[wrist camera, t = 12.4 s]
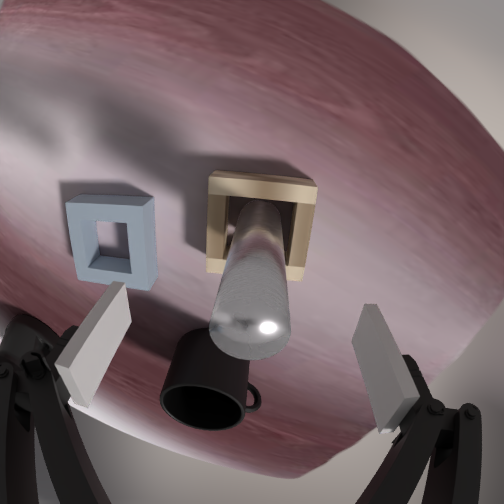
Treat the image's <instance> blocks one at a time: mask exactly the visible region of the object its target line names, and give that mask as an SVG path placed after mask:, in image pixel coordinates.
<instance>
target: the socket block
mask: <svg viewBox="0 0 504 504" xmlns="http://www.w3.org/2000/svg"><path fill="white" fill-rule="evenodd" d="M65 204H66V212H67V220H68V227H69V233H70V240H71V246H72V251H73V257H74V262H75V267H76V272H77V276H78V280H83V281H89V282H95V283H101V284H107V285H110V284H111V283H112V282H113V281H117V282H125V285H126V288H133V289H139V290H146V291H149V290H150V289H151V287H152V285H153V284H154V282H155V280H156V279H157V277H158V269H157V255H156V237H155V214H154V197H144V196H122V195H95V194H80V195H78V196H76V197H74V198H73V199H71V200H69V201H67V202H65ZM96 221H105V222H119V223H127V232H128V243H129V253H130V259H125V258H117V257H109V256H101V255H100V251H99V244H98V236H97V228H96Z"/></svg>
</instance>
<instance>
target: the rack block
mask: <svg viewBox="0 0 504 504" xmlns="http://www.w3.org/2000/svg"><path fill="white" fill-rule="evenodd" d="M317 190H318V187H317V185H316V184H315V182H314V181H313V180H311V179H303V178H295V177H286V176H277V175H268V174H257V173H246V172H234V171H221V170H215V171H214V172H213V173H212V174H211V175H210V176H209V183H208V209H207V246H206V272H210V273H220V274H223V271H224V268H225V264H226V261H227V257H228V253H229V250H230V246H227V231H228V214H229V197H230V196H238V197H249V198H260V199H270V200H280V201H289V202H294V204H293V211H292V218H291V226H290V233H289V240H288V247H287V252H286V251H284V256H285V267H286V278H287V280H291V281H302V279H303V273H304V268H305V263H306V257H307V251H308V246H309V240H310V234H311V228H312V222H313V216H314V210H315V204H316V197H317Z"/></svg>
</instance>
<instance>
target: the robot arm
mask: <svg viewBox="0 0 504 504" xmlns="http://www.w3.org/2000/svg"><path fill="white" fill-rule="evenodd" d="M131 322H132V321H131V315H130V310H129V304H128V298H127V291H126V285H125V282H117V281H113V282H112V283H111V284H110V286H109V287H108V288H107V290H106V291H105V292H104V294H103V295H102V296H101V298H100V299H99V300H98V302H97V303H96V304H95V306H94V307H93V308H92V310H91V311H90V312H89V314H88V315H87V317H86V318H85V319H84V321H83V322H82V324H81V325H80V326H79V327H78V326H74V325H73V326H71V327H70V328H68V329H67V330H66V331H65V332H64V333H63V335H62V336H61V337H60V338H59V337H58V336H57V335H56V334H55V333H54V332H53V331H52V330H51V329H50V328H49V327H47V326H46V325H45V324H43V323H42V322H40V321H39V320H37V319H35V318H33V317H31V316H28V315H17V316H15V317H14V318H13V319H12V320H11V322H10V323H9V324H8V325H7V327H6V330H5V335H4V337H3V339H2V342H1V344H0V504H39V502H38V493H37V483H36V470H35V452H34V451H35V449H34V428H35V427H36V431H37V435H38V439H39V443H40V446H41V450H42V453H43V456H44V460H45V463H46V466H47V469H48V472H49V475H50V478H51V481H52V483H53V486H54V489H55V491H56V494H57V496H58V499H59V501H60V504H111V502H110V500H109V498H108V496H107V494H106V493H105V491H104V489H103V487H102V485H101V483H100V481H99V479H98V476H97V474H96V472H95V470H94V468H93V466H92V464H91V461H90V459H89V457H88V454H87V452H86V449H85V447H84V445H83V442H82V439H81V437H80V434H79V432H78V429H77V426H76V423H75V421H74V418H73V415H72V412H71V409H70V406H69V404H68V400H69V398H70V396H71V398H72V400H73V402H74V403H75V404H78V405H81V406H84V407H87V408H88V407H89V405H90V403H91V401H92V399H93V396H94V394H95V392H96V390H97V388H98V386H99V384H100V382H101V380H102V378H103V376H104V374H105V372H106V370H107V368H108V366H109V364H110V362H111V360H112V358H113V356H114V354H115V352H116V350H117V348H118V346H119V344H120V343H121V341H122V339H123V337H124V335H125V333H126V331H127V329H128V328H129V326H130V324H131ZM352 344H353V347H354V350H355V354H356V357H357V360H358V363H359V366H360V369H361V373H362V376H363V379H364V382H365V386H366V389H367V392H368V396H369V399H370V403H371V406H372V410H373V413H374V417H375V420H376V424H377V428H378V431H379V434H382V433H390V432H394V431H395V429H396V428H397V427H398V426H400V430H401V432H400V433H399V435H398V436H397V437H396V438H395V439H394V440H393V442H392V443H393V445H392V447H391V449H390V451H389V452H388V454H387V456H386V457H385V459H384V461H383V463H382V464H381V466H380V468H379V469H378V471H377V472H376V474H375V475H374V477H373V478H372V480H371V482H370V483H369V485H368V486H367V488H366V489H365V490H364V492H363V493H362V495H361V496H360V498H359V499H358V500H357V502H356V503H355V504H407V503H408V501H409V499H410V497H411V495H412V494H413V492H414V490H415V488H416V486H417V484H418V482H419V480H420V478H421V476H422V474H423V471H424V469H425V467H426V465H427V463H428V460H429V458H430V464H429V470H428V475H427V481H426V486H425V491H424V495H423V499H422V504H478V500H479V490H480V479H481V460H482V424H481V413H480V410H479V409H478V408H477V407H476V406H475V405H473V404H471V403H466V404H463V405H462V406H461V408H460V409H459V410H457V409H449V408H445V406H444V404H443V403H442V402H441V401H439V400H437V399H434V398H433V397H432V395H431V393H430V391H429V389H428V386H427V384H426V382H425V380H424V378H423V377H422V374H421V371H419V367H418V365H417V363H416V361H415V360H414V359H413V358H412V357H411V356H410V355H401V352H400V350H399V348H398V346H397V344H396V342H395V340H394V338H393V336H392V334H391V332H390V330H389V328H388V326H387V324H386V322H385V320H384V318H383V316H382V314H381V312H380V310H379V308H378V306H377V304H364V307H363V310H362V313H361V316H360V319H359V322H358V325H357V327H356V330H355V333H354V336H353V338H352ZM430 456H431V457H430Z"/></svg>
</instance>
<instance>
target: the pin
mask: <svg viewBox="0 0 504 504" xmlns="http://www.w3.org/2000/svg"><path fill="white" fill-rule="evenodd" d="M209 332H210V336H211V338H212V340H213V342H214V343H215V344H216V346H217V347H218V348H219V349H220V350H222V351H223V352H225V353H226V354H228V355H230V356H233V357H235V358H239V359H244V360H260V359H265V358H268V357H271V356H273V355H275V354H277V353H278V352H280V351H281V350H282V349H283V348H284V347H285V346H286V344H287V343H288V341H289V338H290V334H291V326H290V313H289V301H288V289H287V278H286V267H285V256H284V246H283V236H282V226H281V217H280V213H279V211H278V209H277V208H276V207H275V206H274V205H273V204H272V203H270V202H268V201H265V200H254V201H251V202H249V203H247V204H246V205H245V206H244V207H243V208H242V210H241V212H240V214H239V218H238V221H237V225H236V228H235V232H234V236H233V239H232V243H231V246H230V250H229V253H228V257H227V261H226V264H225V268H224V271H223V275H222V279H221V282H220V286H219V290H218V294H217V297H216V301H215V305H214V308H213V312H212V316H211V320H210V323H209Z"/></svg>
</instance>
